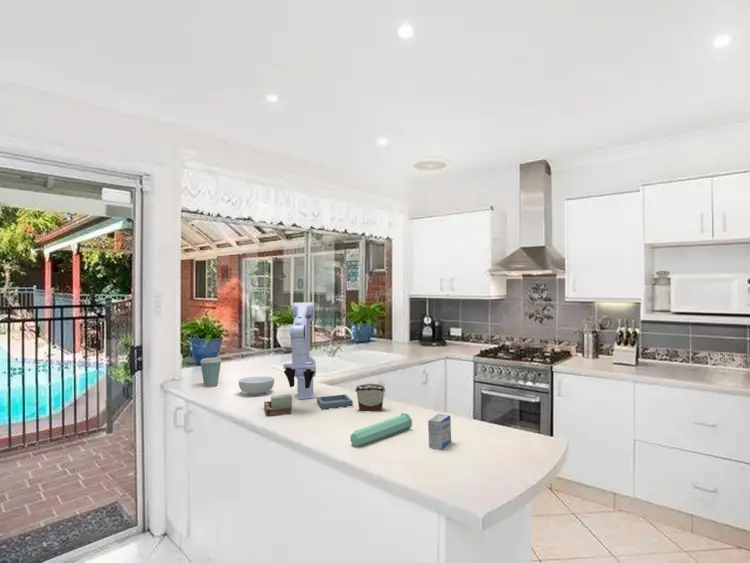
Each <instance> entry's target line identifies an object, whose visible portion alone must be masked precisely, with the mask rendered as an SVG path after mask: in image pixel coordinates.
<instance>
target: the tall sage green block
mask: <svg viewBox="0 0 750 563" xmlns="http://www.w3.org/2000/svg"><path fill="white" fill-rule="evenodd" d="M270 401H271V408H270V409H274V408H284V407H291V410H292V411H293V397H292V395H291V393H288V394H287V393H286V394H279V395H271V396H270Z"/></svg>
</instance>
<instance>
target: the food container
mask: <svg viewBox="0 0 750 563" xmlns="http://www.w3.org/2000/svg"><path fill="white" fill-rule="evenodd" d="M355 387H356V388H355V392H356V396H357V404H358V412H359V411H370V413H371V412H372V413H373V412H375V413H376V412H377V413H378V412H379V413H381V412H383V408H384V407H383V406H384V405H383V404H384V394H385V392H386V388H385V386H384V385H383V384H379V383H365V384H364V383H363V384H360V385H357V386H355ZM355 392H354V393H355Z"/></svg>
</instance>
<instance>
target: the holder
mask: <svg viewBox="0 0 750 563" xmlns="http://www.w3.org/2000/svg"><path fill="white" fill-rule="evenodd" d="M263 403H264V404H263V405H264V407H263V408H264V412H265V411H266V412H265V415H266V417H267V416H268V417H275V416H274V415H277V416H283V414H286V415H291V414H292V411H291V407H284V408H274V409H271V400H269V401H264V402H263Z"/></svg>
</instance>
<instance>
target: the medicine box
mask: <svg viewBox="0 0 750 563" xmlns="http://www.w3.org/2000/svg"><path fill="white" fill-rule="evenodd" d="M427 423H428V424H427V426H428V427H427V428H428V429H427V430H428V446H429V448H432V449H437V450H443V449H444V448H445V447H447V446H448V445H449V444H450V443H452V430H451V429H452V426H451V425H452V424H451V423H452V422H451V415H450V414H449V415H448V414H443V413H438V414H437V415H435V416H433V417H432V418H429V419H428V421H427Z"/></svg>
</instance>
